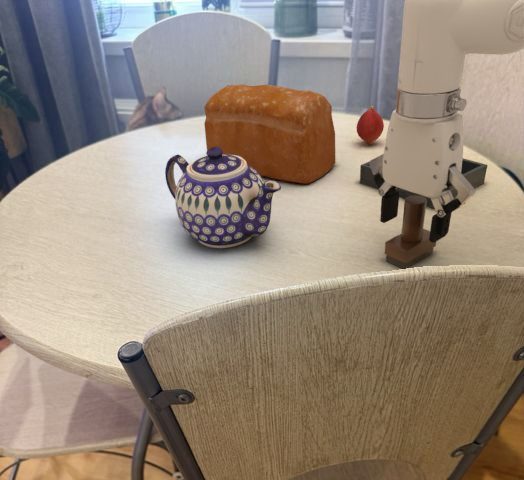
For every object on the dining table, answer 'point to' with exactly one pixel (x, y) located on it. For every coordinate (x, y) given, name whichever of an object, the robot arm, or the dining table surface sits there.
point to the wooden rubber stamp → (410, 236)
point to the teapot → (220, 198)
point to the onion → (370, 126)
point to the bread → (273, 130)
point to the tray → (469, 170)
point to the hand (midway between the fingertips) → (412, 228)
